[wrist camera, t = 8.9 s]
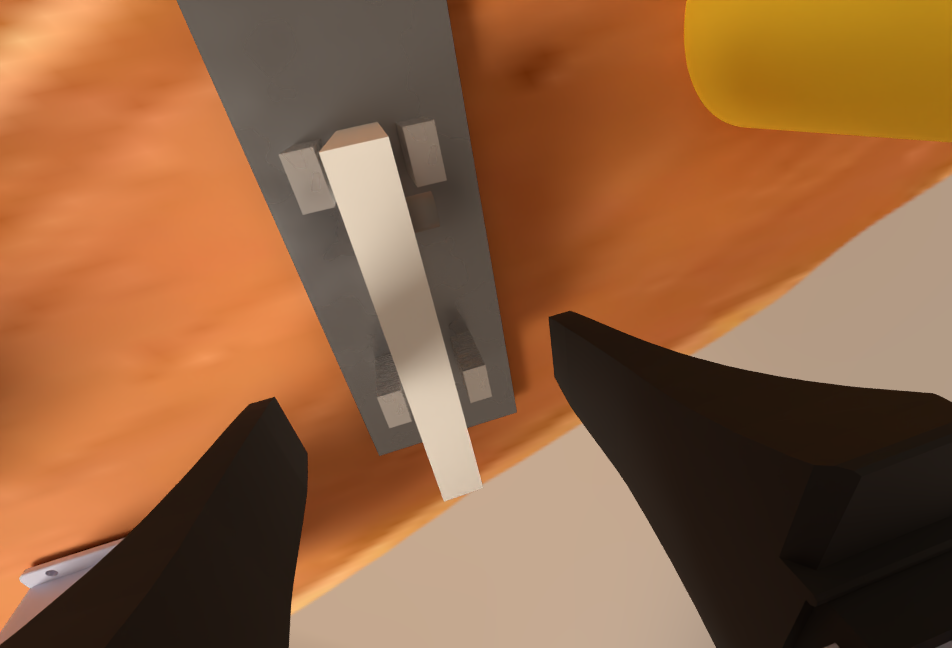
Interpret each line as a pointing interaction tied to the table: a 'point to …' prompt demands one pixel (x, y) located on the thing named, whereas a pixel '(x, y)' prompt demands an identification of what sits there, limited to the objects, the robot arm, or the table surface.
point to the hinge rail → (418, 163)
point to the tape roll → (825, 65)
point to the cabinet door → (402, 292)
